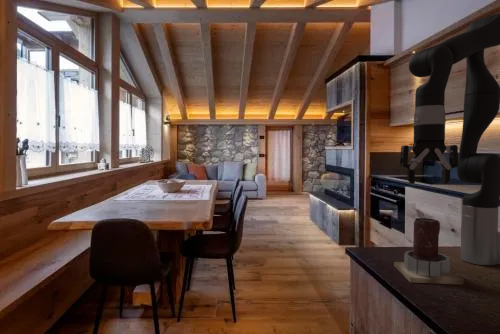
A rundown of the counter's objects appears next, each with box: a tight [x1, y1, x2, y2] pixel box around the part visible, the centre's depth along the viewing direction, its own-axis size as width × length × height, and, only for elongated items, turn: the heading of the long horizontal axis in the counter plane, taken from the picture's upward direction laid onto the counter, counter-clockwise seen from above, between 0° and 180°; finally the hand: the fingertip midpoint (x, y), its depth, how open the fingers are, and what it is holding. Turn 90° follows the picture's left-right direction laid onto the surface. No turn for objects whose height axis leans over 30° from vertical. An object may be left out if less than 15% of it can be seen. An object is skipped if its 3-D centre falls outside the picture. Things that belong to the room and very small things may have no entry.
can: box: [412, 217, 441, 261], centre depth 93 cm, size 6×6×14 cm
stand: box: [393, 261, 465, 285], centre depth 94 cm, size 13×13×1 cm
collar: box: [403, 249, 451, 277], centre depth 94 cm, size 11×11×4 cm
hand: (428, 183), depth 93 cm, fingers open, 8 cm apart
